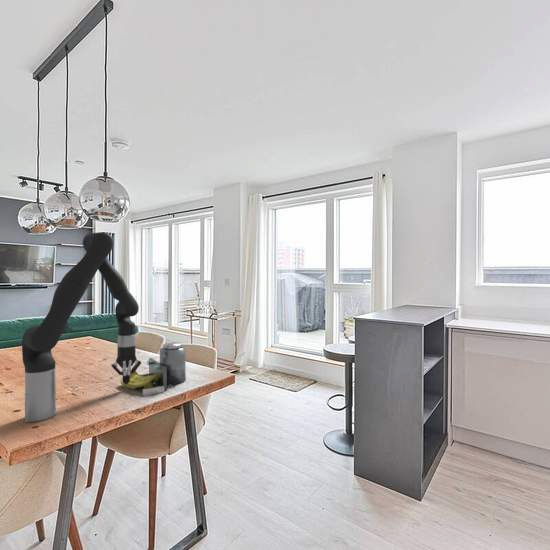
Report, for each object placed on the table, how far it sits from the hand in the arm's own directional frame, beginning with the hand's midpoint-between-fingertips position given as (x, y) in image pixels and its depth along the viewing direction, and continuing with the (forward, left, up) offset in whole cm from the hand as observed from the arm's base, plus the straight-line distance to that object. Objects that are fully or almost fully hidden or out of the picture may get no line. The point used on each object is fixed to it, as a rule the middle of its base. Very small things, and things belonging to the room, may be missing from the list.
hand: (126, 383), depth 153 cm
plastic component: (+6, +1, -4) cm, 7 cm away
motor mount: (+16, 0, -3) cm, 16 cm away
